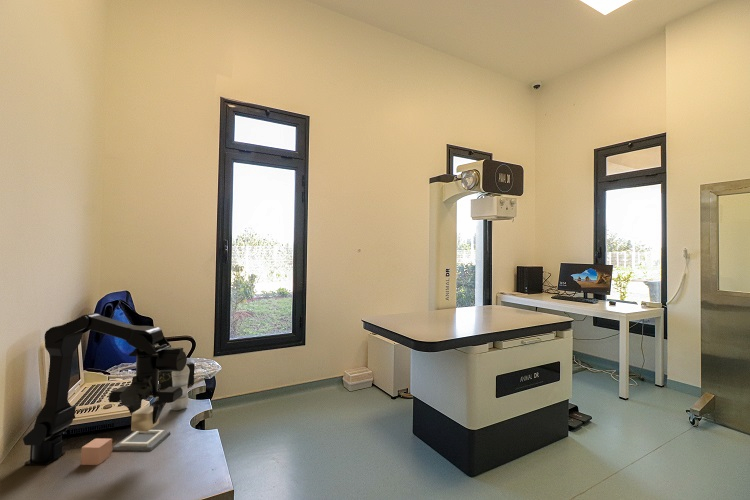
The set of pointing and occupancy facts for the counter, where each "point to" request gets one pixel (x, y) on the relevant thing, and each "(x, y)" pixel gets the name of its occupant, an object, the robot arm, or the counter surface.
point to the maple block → (143, 419)
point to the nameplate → (166, 377)
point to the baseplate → (142, 440)
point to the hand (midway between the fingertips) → (145, 423)
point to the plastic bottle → (181, 381)
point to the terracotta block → (96, 451)
